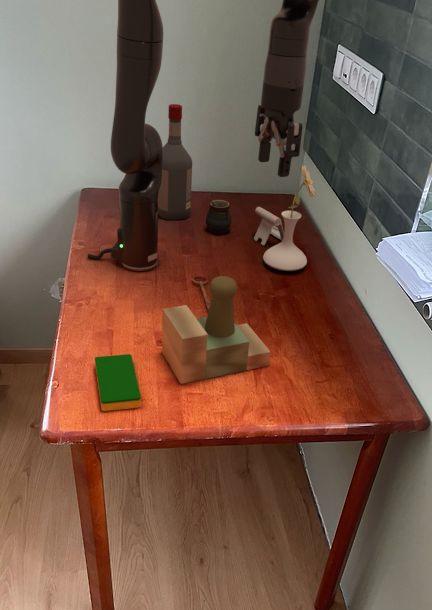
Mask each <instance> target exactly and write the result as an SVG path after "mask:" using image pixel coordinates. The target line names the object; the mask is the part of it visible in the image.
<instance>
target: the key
mask: <svg viewBox="0 0 432 610" xmlns="http://www.w3.org/2000/svg"><path fill="white" fill-rule="evenodd" d="M197 280H200V281H197ZM202 280H203V281H202ZM191 281H192V283H194V284H197V285H199V288H200V291H201V293H202V296H203V300H204V303H205V305H206V308H207V311H208V310H209V306H210V301H211V299H209V297H208V293H207V291H206V288H205V284H208V281H209V280H208V279H207V278H206V277H203V276H194V277H193V278H192V279H191Z"/></svg>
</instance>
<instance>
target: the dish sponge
mask: <svg viewBox="0 0 432 610" xmlns="http://www.w3.org/2000/svg"><path fill="white" fill-rule="evenodd" d="M132 355H133V354H130V353H124V354H113V355H103V356H102V355H101V356H95V357H94V368H95V373H96V381H97V387H98V394H99V395H98V396H99V401H100V409H101V411H102V412H109V411H118V410H119V411H120V410H127V409H139V408H141V407H142V395H141V392H140V387H139V382H138V378H137V373H136V370H135V365H134V360H133V356H132Z"/></svg>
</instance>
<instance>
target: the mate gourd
mask: <svg viewBox="0 0 432 610" xmlns="http://www.w3.org/2000/svg"><path fill="white" fill-rule="evenodd" d="M209 201H210V202H209V208H208V211H207V213H206V216H205V225H206V227H207V229H208V230H209V231H210V232H211V233H212V234H217V235H218V234H219V235H221V234H225V233H228V232H229V230H230V228H231V226H232V221H233V220H232V215H231V212H230V206H231V204H230V202H228V201H226V200H223V199H209Z"/></svg>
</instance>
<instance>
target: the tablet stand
mask: <svg viewBox="0 0 432 610" xmlns="http://www.w3.org/2000/svg"><path fill="white" fill-rule="evenodd" d="M254 213H255V214H256V215H257V216H258V217H261V221H260V223H259V226H258V228H257V230H256V233H255V235H254V237H253V240H254V241H255V242H258V240H259V239H261V242H260V245H262V246H265V245H266V244H267V242H268V239H269V237H270V235H272V236H273V237H275V238H276V239H278V240H280V242H282V240H283V238H284V232H285V230H284V227H283V222H282V220H281V218H280V217H278V216H276V215H274V214H273V213H271V212H270V211H268V210H266V209H264V208H262V207H261V206H257V207H256V208H255V209H254Z"/></svg>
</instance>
